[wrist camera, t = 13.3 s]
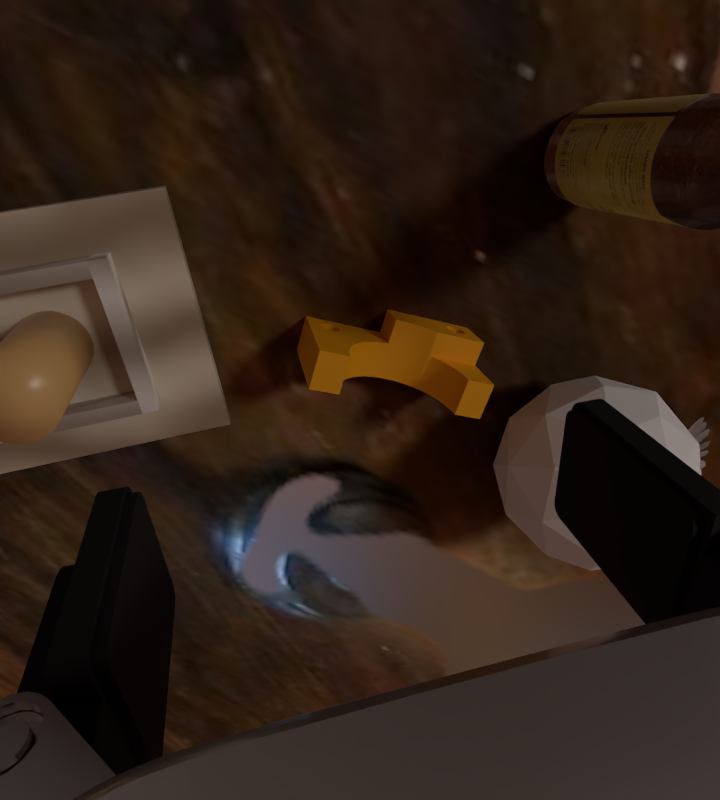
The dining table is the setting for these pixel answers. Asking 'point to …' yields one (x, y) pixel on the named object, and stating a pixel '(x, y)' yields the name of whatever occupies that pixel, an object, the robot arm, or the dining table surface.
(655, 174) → the sauce bottle
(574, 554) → the geodesic sphere
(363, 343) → the orange blocky piece
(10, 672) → the dining table surface
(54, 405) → the tan rounded oblong piece
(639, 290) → the dining table surface
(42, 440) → the grey square framed plate
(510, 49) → the dining table surface
